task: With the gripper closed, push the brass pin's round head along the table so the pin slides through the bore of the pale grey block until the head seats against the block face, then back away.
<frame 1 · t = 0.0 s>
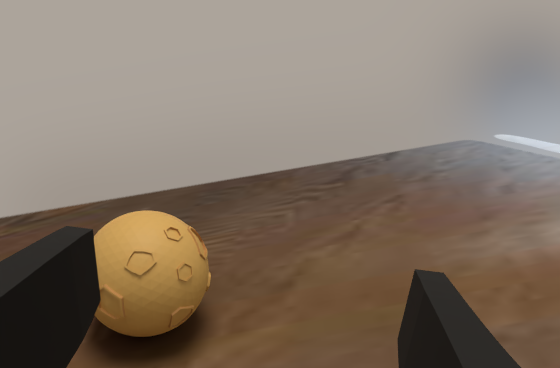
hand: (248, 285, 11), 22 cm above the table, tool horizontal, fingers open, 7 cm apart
stress ball: (146, 326, 43), on the table
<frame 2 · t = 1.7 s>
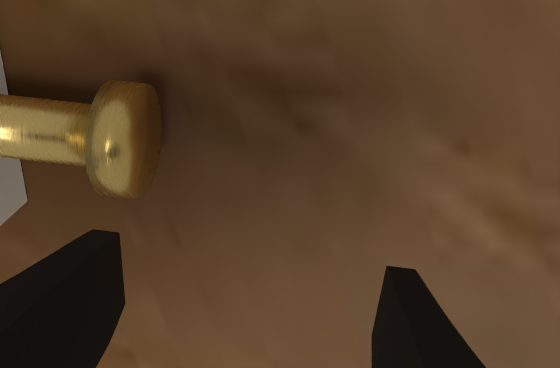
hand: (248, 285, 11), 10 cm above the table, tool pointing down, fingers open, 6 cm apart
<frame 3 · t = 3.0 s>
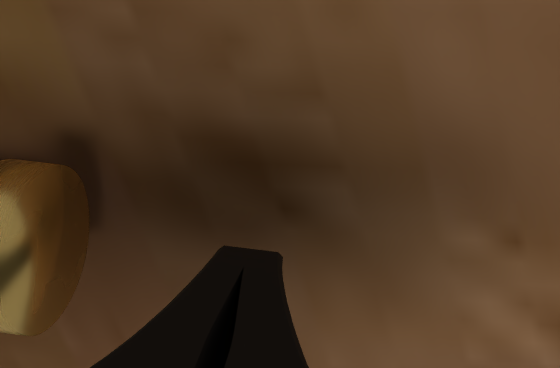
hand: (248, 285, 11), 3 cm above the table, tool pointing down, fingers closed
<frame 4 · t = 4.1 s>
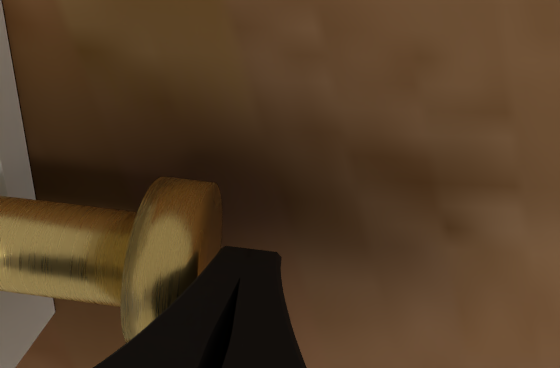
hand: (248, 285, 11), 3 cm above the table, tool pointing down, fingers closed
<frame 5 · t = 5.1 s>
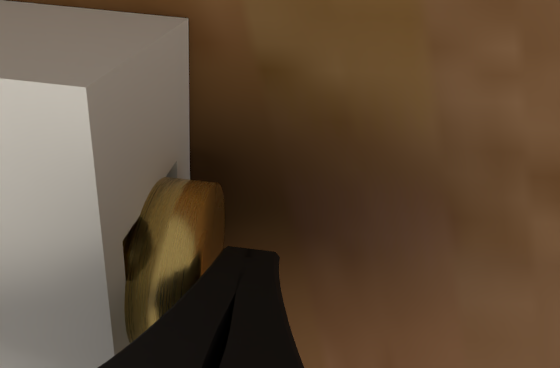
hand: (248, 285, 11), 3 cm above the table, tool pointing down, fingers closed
block: (54, 183, 15), on the table
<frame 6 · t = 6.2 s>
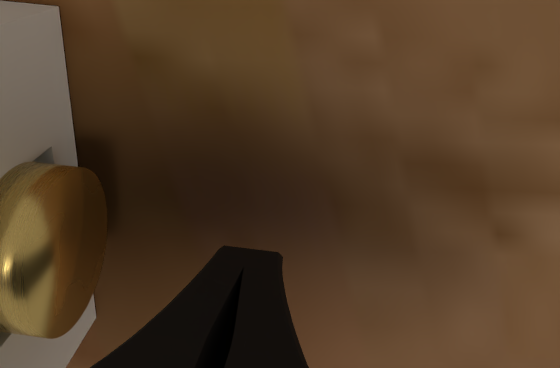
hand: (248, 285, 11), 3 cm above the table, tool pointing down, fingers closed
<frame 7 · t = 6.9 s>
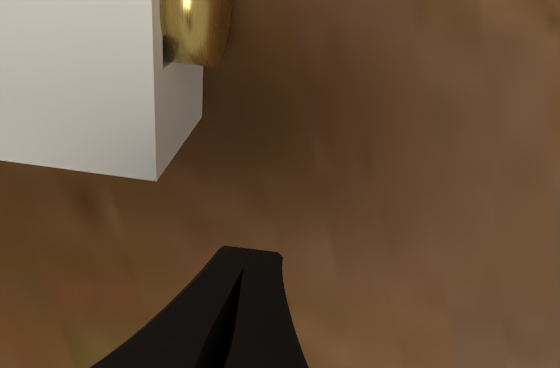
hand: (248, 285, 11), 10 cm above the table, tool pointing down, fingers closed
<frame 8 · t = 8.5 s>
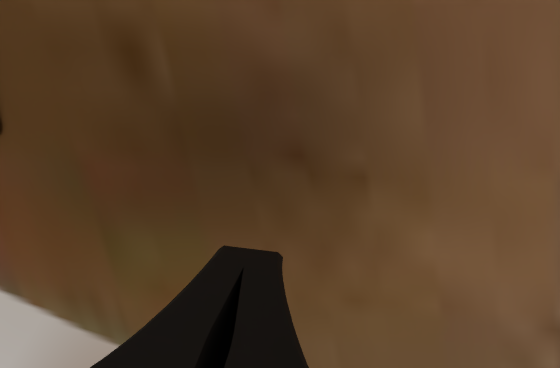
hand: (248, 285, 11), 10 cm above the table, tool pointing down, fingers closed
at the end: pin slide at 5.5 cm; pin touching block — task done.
